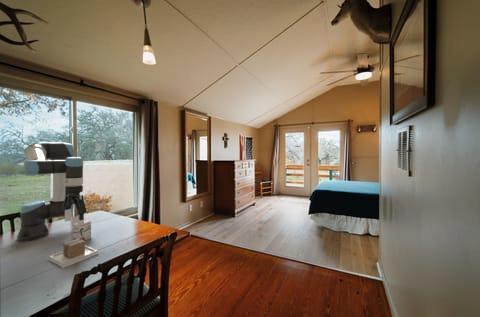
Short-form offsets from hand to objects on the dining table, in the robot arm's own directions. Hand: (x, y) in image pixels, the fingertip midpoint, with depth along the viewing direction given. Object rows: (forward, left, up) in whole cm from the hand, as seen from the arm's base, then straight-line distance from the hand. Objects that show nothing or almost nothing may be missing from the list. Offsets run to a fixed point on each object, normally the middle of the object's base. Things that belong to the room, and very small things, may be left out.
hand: (74, 223), depth 110 cm
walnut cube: (0, 0, -18) cm, 18 cm away
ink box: (-20, +13, -19) cm, 31 cm away
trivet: (0, 0, -19) cm, 19 cm away
